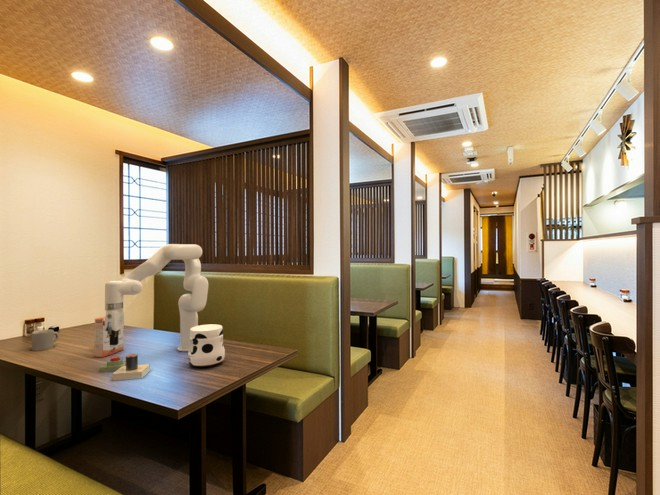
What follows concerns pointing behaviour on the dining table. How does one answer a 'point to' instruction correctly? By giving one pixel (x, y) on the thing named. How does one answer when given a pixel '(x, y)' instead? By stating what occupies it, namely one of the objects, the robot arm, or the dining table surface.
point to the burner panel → (131, 373)
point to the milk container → (206, 345)
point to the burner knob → (131, 362)
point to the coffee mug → (43, 339)
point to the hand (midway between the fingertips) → (114, 344)
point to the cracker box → (105, 340)
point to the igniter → (112, 365)
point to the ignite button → (114, 358)
